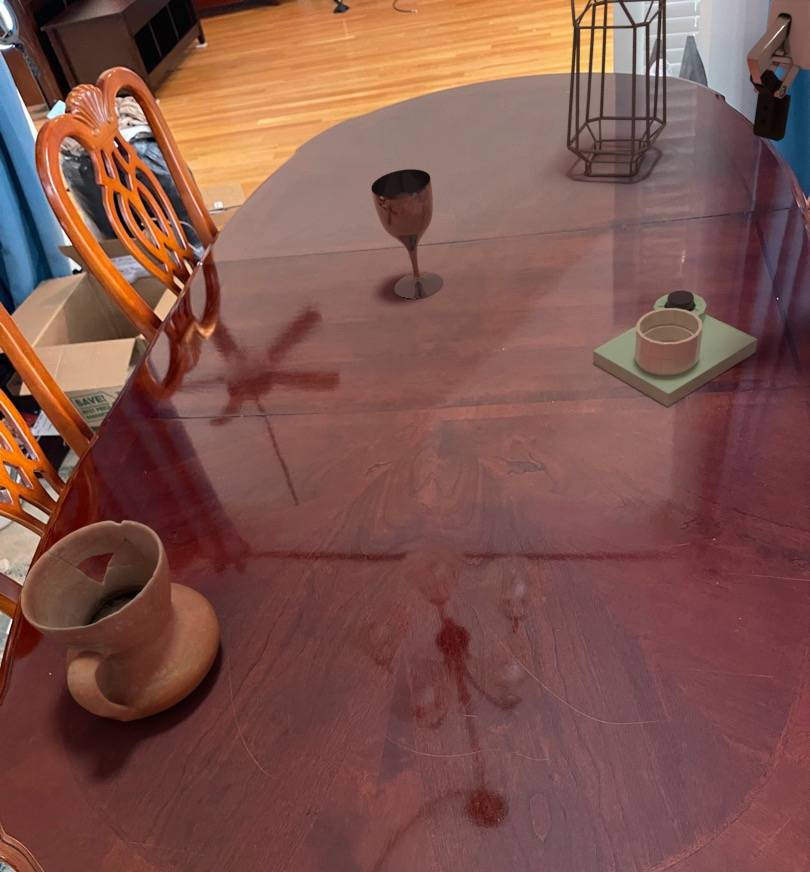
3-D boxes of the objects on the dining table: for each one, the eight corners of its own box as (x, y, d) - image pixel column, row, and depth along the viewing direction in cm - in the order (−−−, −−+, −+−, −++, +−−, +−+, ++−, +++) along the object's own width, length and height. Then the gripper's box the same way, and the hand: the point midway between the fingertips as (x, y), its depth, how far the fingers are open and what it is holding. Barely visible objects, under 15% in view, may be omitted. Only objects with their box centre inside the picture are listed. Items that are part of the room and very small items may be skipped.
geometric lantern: (584, 143, 140) (582, -110, 115) (677, 145, 134) (697, -123, 109) (554, 185, 132) (544, -79, 106) (652, 190, 125) (667, -91, 100)
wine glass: (421, 265, 121) (404, 164, 111) (457, 281, 117) (443, 177, 106) (380, 289, 119) (359, 188, 108) (415, 306, 114) (396, 202, 103)
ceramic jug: (115, 599, 85) (50, 503, 75) (246, 594, 83) (197, 494, 72) (50, 756, 73) (-38, 669, 63) (201, 757, 71) (134, 665, 60)
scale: (676, 311, 103) (679, 286, 100) (758, 350, 95) (762, 325, 92) (590, 362, 99) (590, 337, 96) (667, 407, 91) (669, 382, 88)
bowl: (665, 334, 97) (668, 301, 94) (712, 358, 92) (716, 324, 89) (621, 360, 95) (622, 327, 92) (667, 385, 91) (669, 352, 87)
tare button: (679, 298, 99) (680, 287, 98) (698, 307, 97) (699, 296, 96) (661, 309, 98) (662, 297, 97) (680, 318, 97) (681, 306, 95)
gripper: (808, -63, 63) (773, 161, 75) (951, -125, 67) (896, 95, 80) (730, -70, 67) (709, 142, 80) (868, -128, 72) (828, 81, 84)
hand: (802, 118), depth 80 cm, fingers open, 9 cm apart
